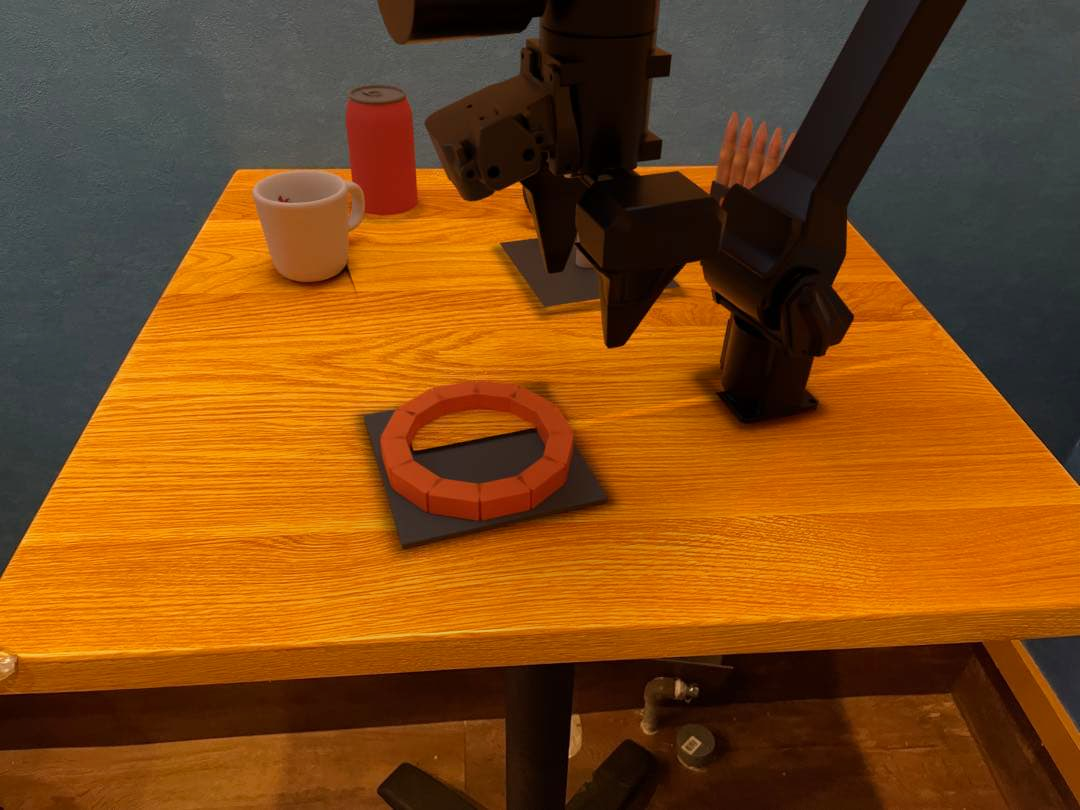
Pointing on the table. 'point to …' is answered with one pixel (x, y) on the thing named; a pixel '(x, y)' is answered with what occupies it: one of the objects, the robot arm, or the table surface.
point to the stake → (556, 274)
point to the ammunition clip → (746, 157)
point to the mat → (480, 480)
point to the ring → (465, 495)
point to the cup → (308, 221)
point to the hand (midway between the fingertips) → (582, 306)
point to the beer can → (382, 148)
